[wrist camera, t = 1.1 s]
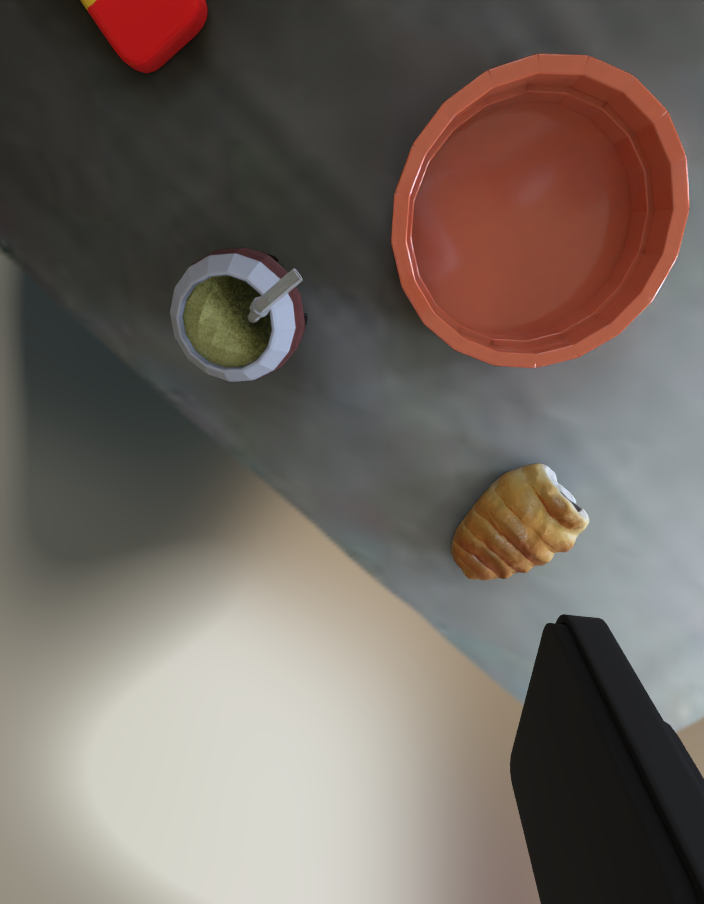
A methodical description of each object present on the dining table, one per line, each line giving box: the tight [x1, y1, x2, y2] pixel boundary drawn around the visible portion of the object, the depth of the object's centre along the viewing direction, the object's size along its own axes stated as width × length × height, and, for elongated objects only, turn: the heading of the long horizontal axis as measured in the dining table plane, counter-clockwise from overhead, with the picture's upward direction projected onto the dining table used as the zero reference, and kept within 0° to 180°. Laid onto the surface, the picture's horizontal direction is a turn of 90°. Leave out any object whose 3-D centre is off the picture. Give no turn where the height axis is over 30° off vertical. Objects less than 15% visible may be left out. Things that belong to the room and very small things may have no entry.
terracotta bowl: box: [391, 53, 690, 368], centre depth 31 cm, size 15×15×5 cm
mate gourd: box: [170, 248, 307, 382], centre depth 28 cm, size 8×8×15 cm
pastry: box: [451, 463, 589, 580], centre depth 38 cm, size 9×7×4 cm
